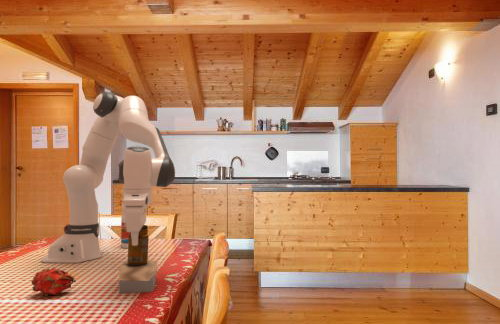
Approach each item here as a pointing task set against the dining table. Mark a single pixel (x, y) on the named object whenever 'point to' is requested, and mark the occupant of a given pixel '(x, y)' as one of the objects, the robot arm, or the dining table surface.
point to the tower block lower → (137, 286)
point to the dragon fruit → (52, 281)
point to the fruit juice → (124, 230)
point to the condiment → (138, 250)
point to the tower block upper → (138, 272)
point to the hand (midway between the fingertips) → (137, 242)
